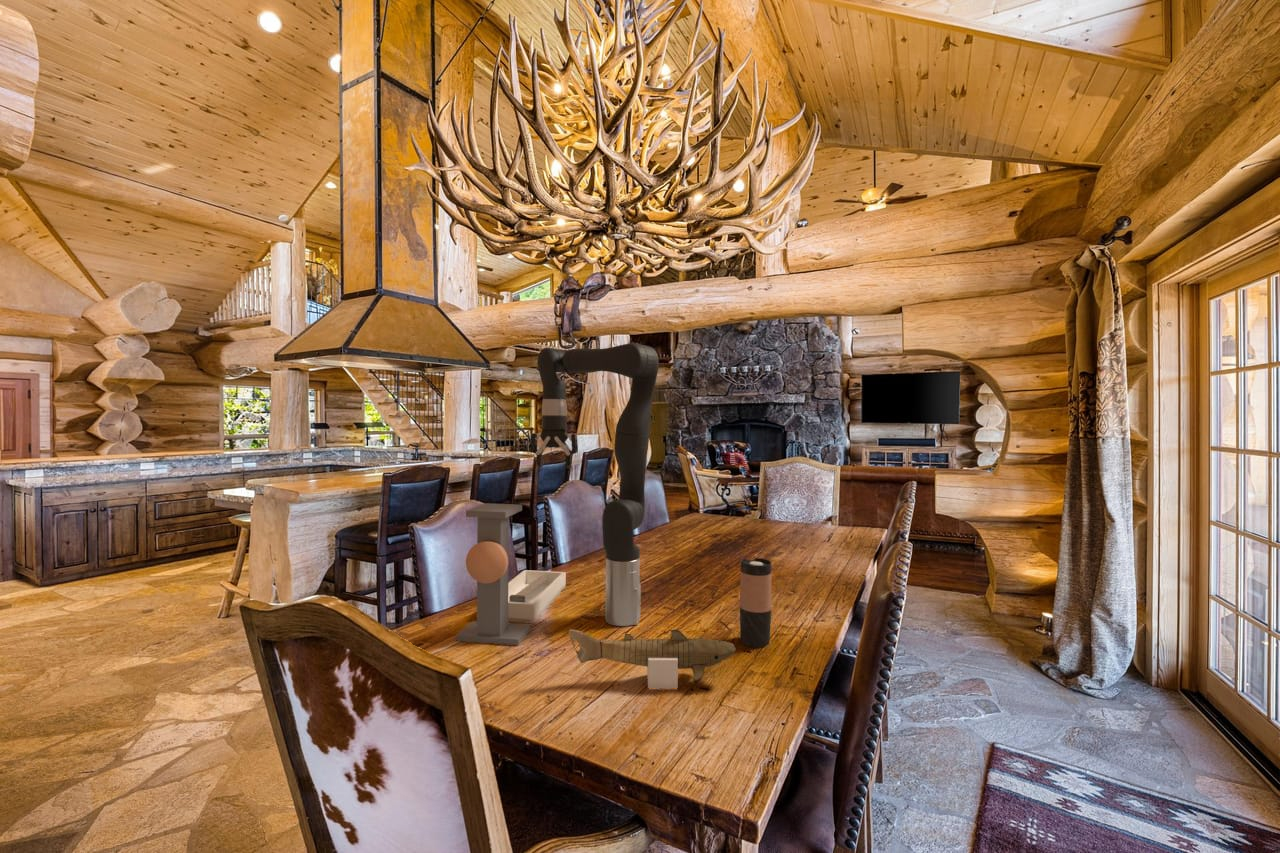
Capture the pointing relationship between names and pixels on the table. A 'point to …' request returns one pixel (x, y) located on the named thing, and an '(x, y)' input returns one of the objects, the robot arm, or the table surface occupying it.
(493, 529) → the stand
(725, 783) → the table surface
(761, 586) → the travel mug
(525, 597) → the grey brown long block
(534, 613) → the off-white tray
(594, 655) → the wood carving
